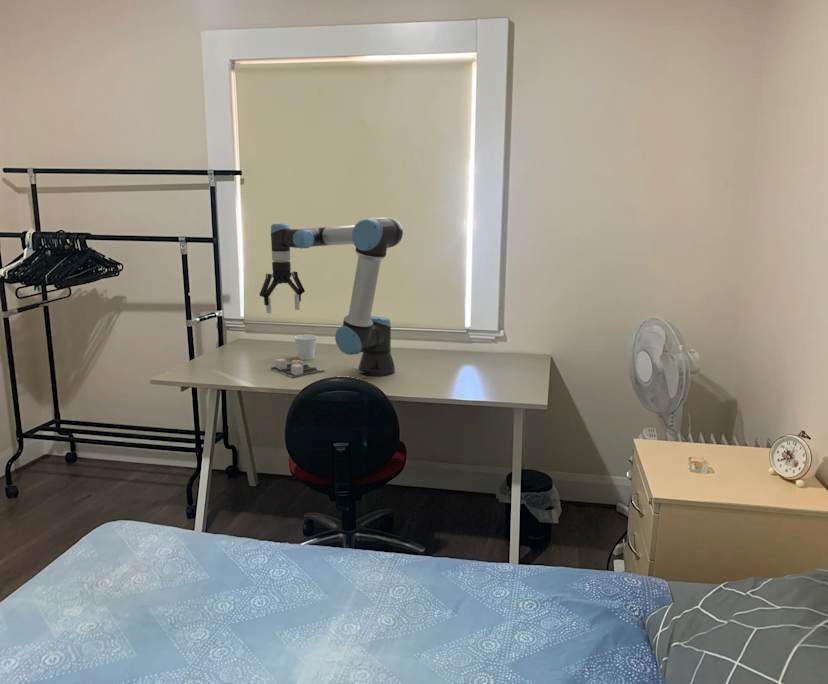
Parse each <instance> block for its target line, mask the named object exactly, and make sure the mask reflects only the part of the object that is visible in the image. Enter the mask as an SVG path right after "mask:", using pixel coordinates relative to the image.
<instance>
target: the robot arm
mask: <svg viewBox="0 0 828 684" xmlns="http://www.w3.org/2000/svg"><path fill="white" fill-rule="evenodd" d="M403 235H404V230H403V226H402V225H401V223H400V222H399V221H398V220H397V219H396V218H394V217H389V216H388V217H387V216H385V217H367V218H363V219H361V220H359V221H357V223H356V224H353V225H352V224H351V225H340V226H327V227H326V226H325V227H314V228H296V229H295V228H294V229H293V228H292V229H291V228H290V225H289V223H272V224H271V226H270V239H271V240H270V241H271V245H270V246H271V260H272V263H271V266H272V267H271V268H272V273H265V280H264V281H263V284H262V288H261V289H260V292H259V293H258V294H259V296H260V297H262V298H263V303H264V306H265V308H266V309H265V310H266V311H265V313H267V314H272V304H271V303H272V302H271V301H272V298H271V297H270V296H271V294H273V292H274V290H275V288H276V287H277V286H278V285H280V284H288V286H289V287H290V288H291V289H292V290H293V292H295V294H294V297H293V298H294V309H295V310H296V311H300V308H301V307H300V306H301V305H300V302H301V301H302V295H303V294H304V293H305V292H306V291H305V288H304V286H303V284H302V282H301V280H300V278H299V274H298V272H297V271H294V270H293V271H291V270H292V269H291V248H295V249H300V250H301V249H302V250H303V249H310V248H312V247H313V248H314V247H325V246H327V247H328V246H339V245H341V246H342V245H354V246H355V253H356V254H357V256H358V258H357V263H356V269H355V275H354V281H353V285H352V287H353V288H352V294H351V299H350V305H349V311H348V314H347V315H346V316H344V318H343V321H342V322H343V323H342V326H340V327H339V328H337V329H336V331H335V336H334V340H335V344H336V346H337V347H338V349H339V350H340V351H341V352H342V353H343V354H345V355H349V356H354V355H359V354H361V353H362V354H361V358H360V361H359V365H358V371H361V372H360V374H361V375H365V376H371V377H374V376H375V377H376V376H377V377H378V376H379V377H380V376H389V375H391V374H394V373H395V372H396V367H395V366H396V365H395V363H394V362H395V361H394V360H393V356H392V353H391V351H392V350H391V348H392V347H391V342H392V336H391V333H392V326H391V320H390V319H389V318H388V317H383V316H378V315H377V316H376V315H375V316H374V315H373V316H372V311H373V305H374V299H375V294H376V291H377V290H376V289H377V284H378V277H379V272H380V268H381V267H380V266H381V262H382V260H384V258H386V256H387V250H388V248H389V249H390V248H393V247H396V246H397V245H398V244H399V243H400V242H401V241H402V238H403ZM291 277H292V278H293V280H292V279H291ZM271 280H272V281H271ZM293 281H294V282H293ZM270 283H271V284H270Z"/></svg>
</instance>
